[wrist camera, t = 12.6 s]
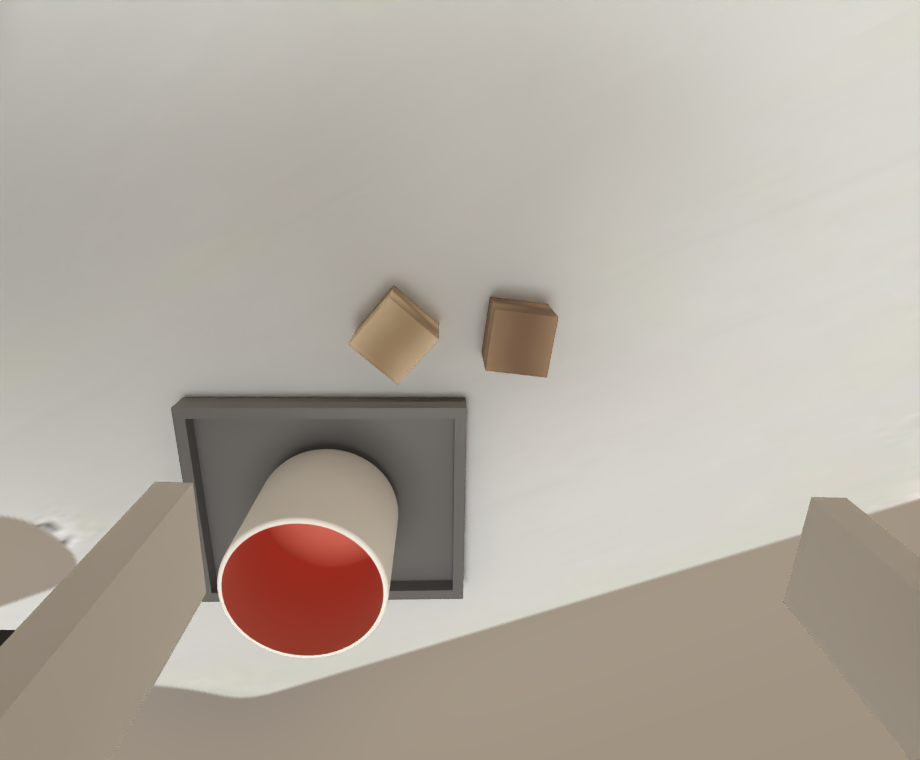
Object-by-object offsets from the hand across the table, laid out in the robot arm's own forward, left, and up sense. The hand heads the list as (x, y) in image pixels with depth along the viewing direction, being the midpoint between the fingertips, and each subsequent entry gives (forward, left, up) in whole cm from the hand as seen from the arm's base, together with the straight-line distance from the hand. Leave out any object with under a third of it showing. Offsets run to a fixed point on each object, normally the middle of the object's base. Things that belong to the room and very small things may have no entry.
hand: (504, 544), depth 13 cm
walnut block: (+4, +2, -29) cm, 29 cm away
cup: (+9, -16, -28) cm, 34 cm away
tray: (+9, -16, -29) cm, 34 cm away
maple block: (0, -5, -29) cm, 29 cm away
